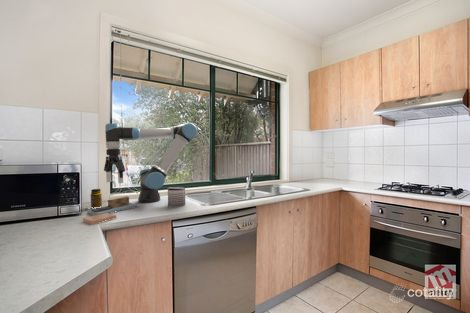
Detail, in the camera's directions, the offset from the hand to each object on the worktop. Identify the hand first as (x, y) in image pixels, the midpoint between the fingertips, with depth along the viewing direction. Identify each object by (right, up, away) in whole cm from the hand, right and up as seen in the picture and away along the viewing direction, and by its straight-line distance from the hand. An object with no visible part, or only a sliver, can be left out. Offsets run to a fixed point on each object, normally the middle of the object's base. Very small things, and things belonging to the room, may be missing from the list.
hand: (114, 182), depth 142 cm
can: (+37, -16, +9) cm, 41 cm away
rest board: (0, -17, -1) cm, 17 cm away
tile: (+7, -16, -17) cm, 24 cm away
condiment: (-16, -17, +6) cm, 25 cm away
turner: (-1, -15, -1) cm, 16 cm away
